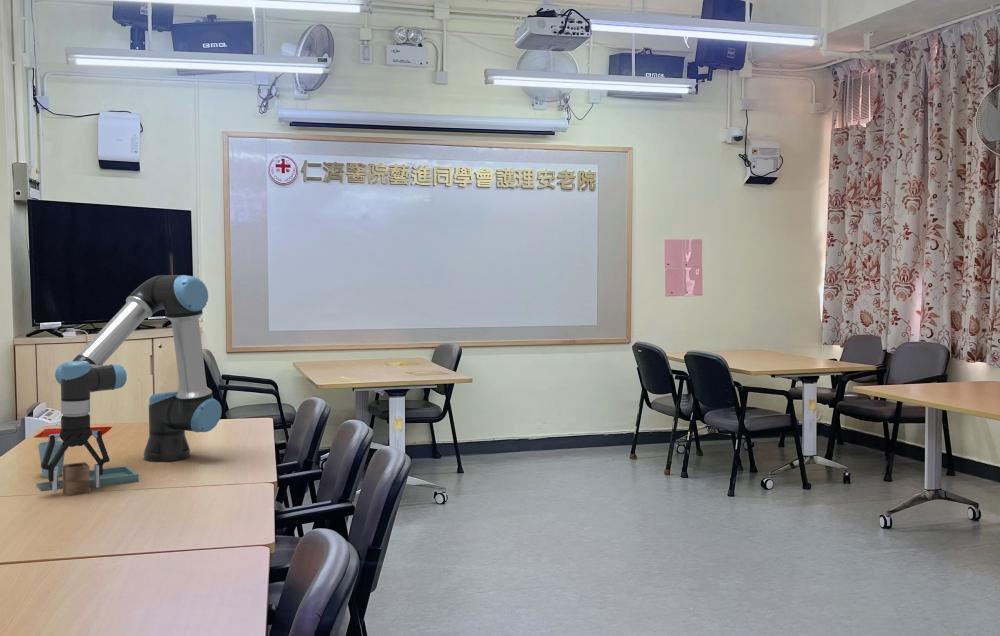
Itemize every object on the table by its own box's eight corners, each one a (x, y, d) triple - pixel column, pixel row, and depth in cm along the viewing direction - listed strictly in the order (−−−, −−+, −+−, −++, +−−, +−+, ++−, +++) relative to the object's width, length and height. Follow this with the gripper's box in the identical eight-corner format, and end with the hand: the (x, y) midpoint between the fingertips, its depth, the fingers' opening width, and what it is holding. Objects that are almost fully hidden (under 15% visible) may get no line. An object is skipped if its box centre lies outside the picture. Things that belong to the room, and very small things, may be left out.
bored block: (85, 488, 240) (85, 462, 239) (89, 492, 235) (89, 465, 235) (62, 491, 236) (62, 464, 236) (66, 496, 231) (66, 468, 231)
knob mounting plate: (66, 481, 247) (66, 463, 247) (71, 487, 241) (71, 468, 241) (36, 485, 242) (36, 466, 242) (40, 491, 236) (40, 471, 236)
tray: (127, 472, 260) (127, 465, 260) (138, 481, 249) (138, 474, 249) (79, 478, 251) (79, 471, 251) (88, 488, 240) (88, 480, 240)
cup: (65, 477, 253) (64, 444, 252) (37, 479, 250) (36, 446, 249) (67, 472, 260) (66, 440, 259) (39, 474, 256) (39, 441, 256)
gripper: (114, 409, 245) (115, 481, 246) (28, 416, 230) (29, 492, 231) (121, 412, 239) (121, 486, 240) (32, 419, 224) (33, 497, 225)
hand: (76, 489), depth 235 cm, fingers open, 10 cm apart
